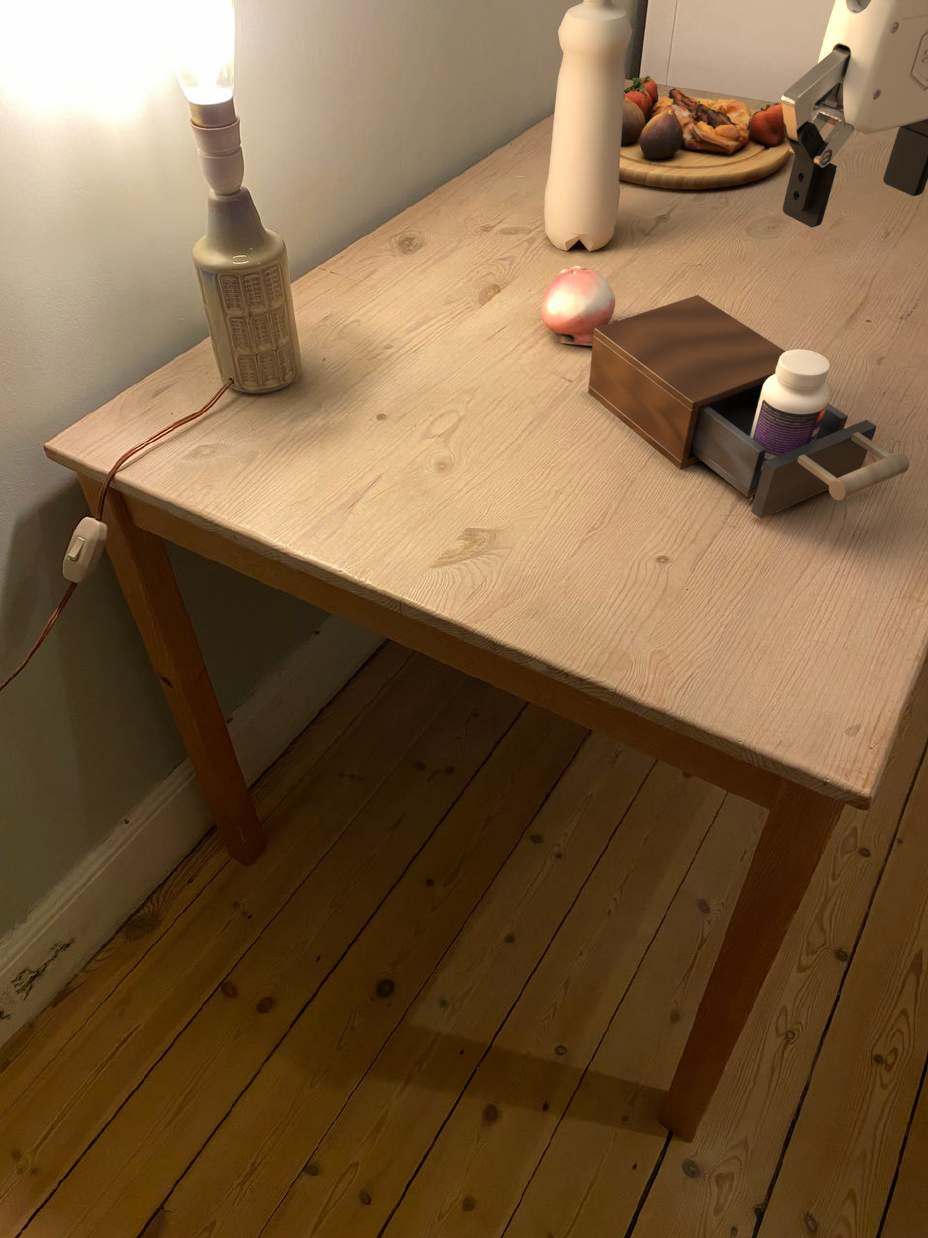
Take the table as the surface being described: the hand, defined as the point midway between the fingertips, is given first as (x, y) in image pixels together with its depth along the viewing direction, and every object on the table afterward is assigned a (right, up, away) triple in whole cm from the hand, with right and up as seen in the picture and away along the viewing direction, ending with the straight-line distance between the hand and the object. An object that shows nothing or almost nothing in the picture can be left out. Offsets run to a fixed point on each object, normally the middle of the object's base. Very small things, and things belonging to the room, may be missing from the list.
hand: (852, 203), depth 64 cm
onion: (-15, +2, +35) cm, 38 cm away
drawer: (+1, -16, +17) cm, 23 cm away
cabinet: (-6, -9, +25) cm, 27 cm away
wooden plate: (+4, +40, +71) cm, 82 cm away
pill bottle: (0, -15, +16) cm, 23 cm away
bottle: (-13, +19, +51) cm, 56 cm away
